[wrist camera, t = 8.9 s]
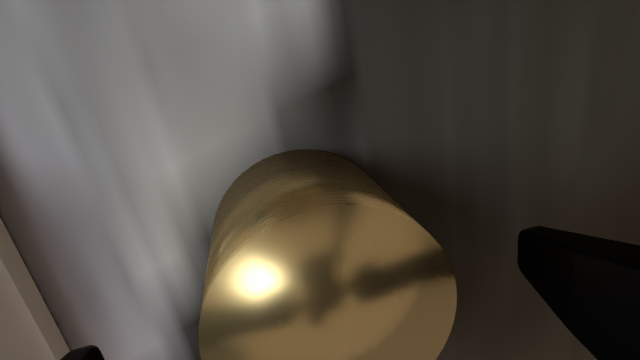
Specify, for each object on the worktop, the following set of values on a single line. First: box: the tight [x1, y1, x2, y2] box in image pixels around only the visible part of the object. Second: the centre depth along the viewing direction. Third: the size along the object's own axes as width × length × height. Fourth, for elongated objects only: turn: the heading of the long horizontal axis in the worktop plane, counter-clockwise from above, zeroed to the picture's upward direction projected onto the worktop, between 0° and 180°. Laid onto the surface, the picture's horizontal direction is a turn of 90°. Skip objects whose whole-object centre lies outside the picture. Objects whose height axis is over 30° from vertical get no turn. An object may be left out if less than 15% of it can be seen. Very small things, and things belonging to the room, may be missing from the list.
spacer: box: [198, 149, 457, 360], centre depth 9 cm, size 5×5×4 cm
